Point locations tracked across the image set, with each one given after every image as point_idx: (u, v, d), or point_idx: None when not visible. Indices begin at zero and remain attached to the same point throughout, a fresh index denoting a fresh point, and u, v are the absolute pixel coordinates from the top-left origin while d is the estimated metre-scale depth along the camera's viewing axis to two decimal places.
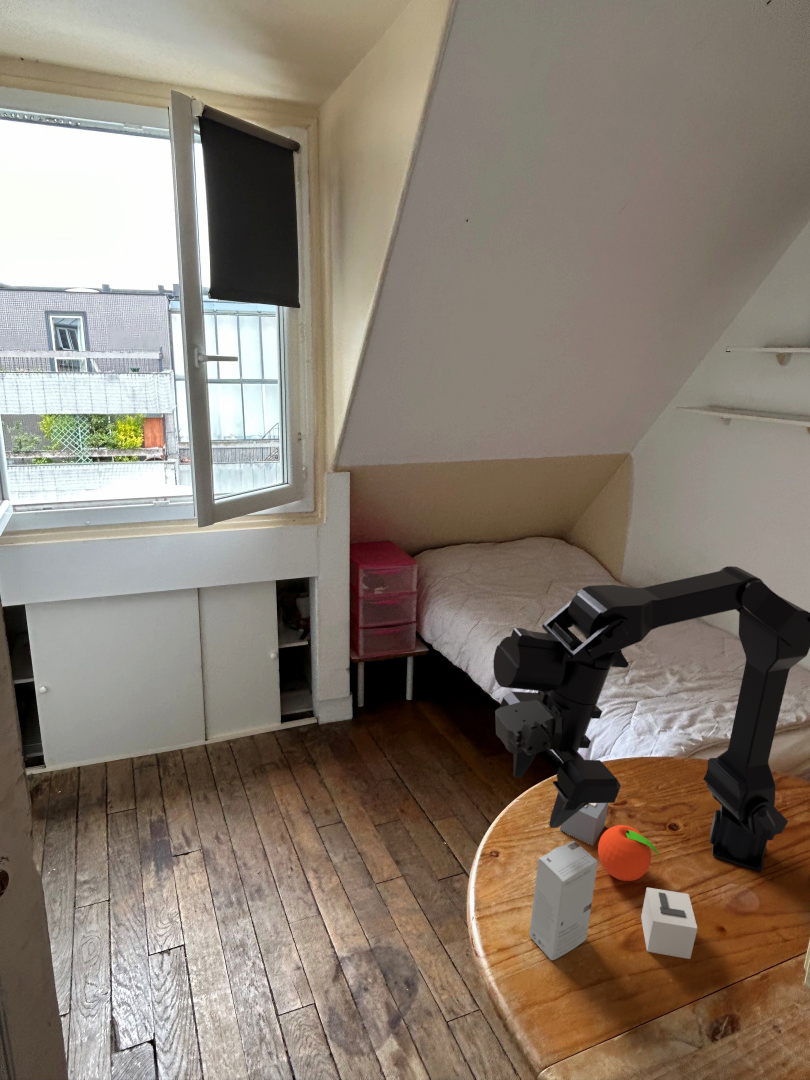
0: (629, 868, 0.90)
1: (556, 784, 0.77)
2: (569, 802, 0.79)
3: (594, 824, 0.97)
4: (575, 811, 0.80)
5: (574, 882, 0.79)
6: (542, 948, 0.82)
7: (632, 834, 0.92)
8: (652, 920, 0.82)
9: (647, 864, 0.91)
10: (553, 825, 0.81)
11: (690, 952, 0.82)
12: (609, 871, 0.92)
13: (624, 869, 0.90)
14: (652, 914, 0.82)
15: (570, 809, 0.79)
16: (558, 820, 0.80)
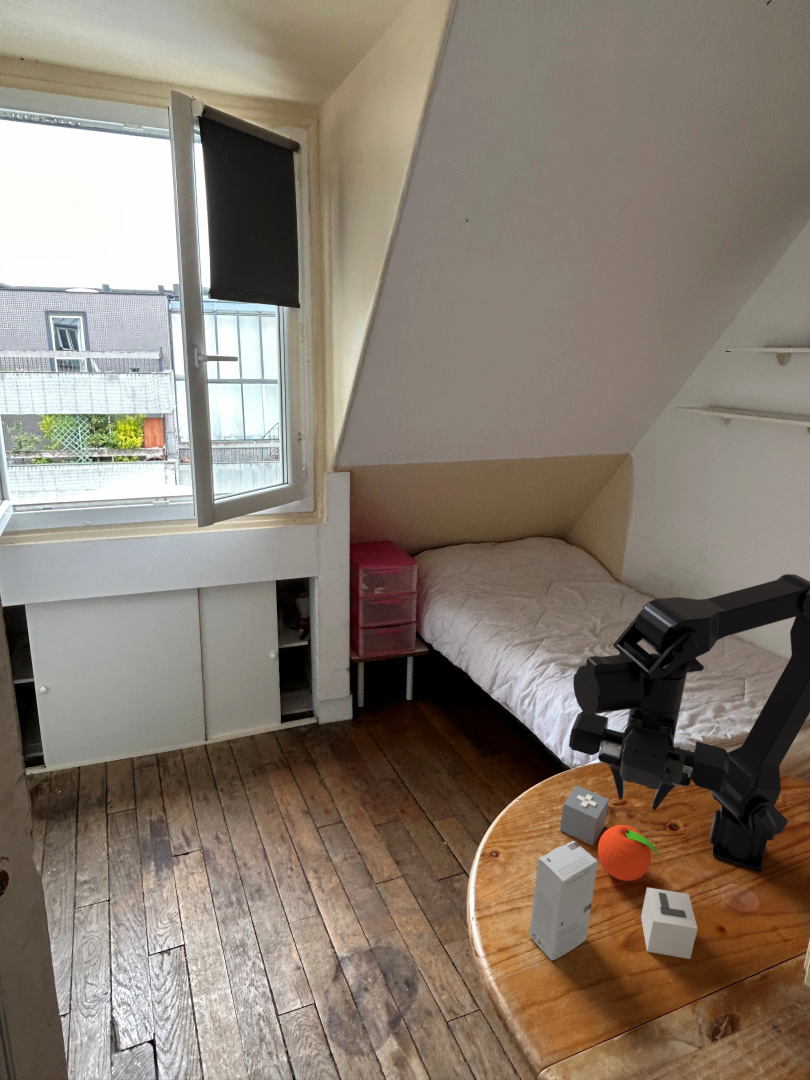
0: (629, 868, 0.90)
1: None
2: None
3: (594, 824, 0.97)
4: None
5: (574, 882, 0.79)
6: (542, 948, 0.82)
7: (632, 834, 0.92)
8: (652, 920, 0.82)
9: (647, 864, 0.91)
10: None
11: (690, 952, 0.82)
12: (609, 871, 0.92)
13: (624, 869, 0.90)
14: (652, 914, 0.82)
15: None
16: None
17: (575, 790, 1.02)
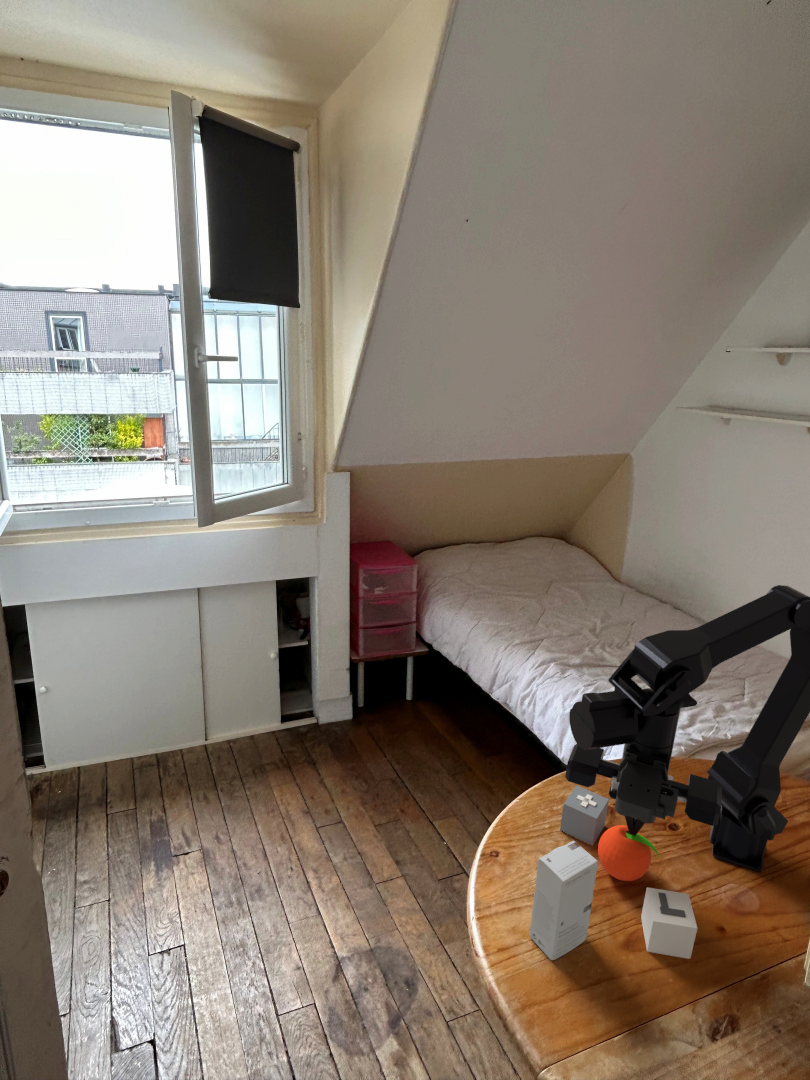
0: (629, 868, 0.90)
1: None
2: None
3: (594, 824, 0.97)
4: None
5: (574, 882, 0.79)
6: (542, 948, 0.82)
7: None
8: (652, 920, 0.82)
9: (647, 864, 0.91)
10: None
11: (690, 952, 0.82)
12: (609, 871, 0.92)
13: (624, 869, 0.90)
14: (652, 914, 0.82)
15: None
16: None
17: (575, 790, 1.02)
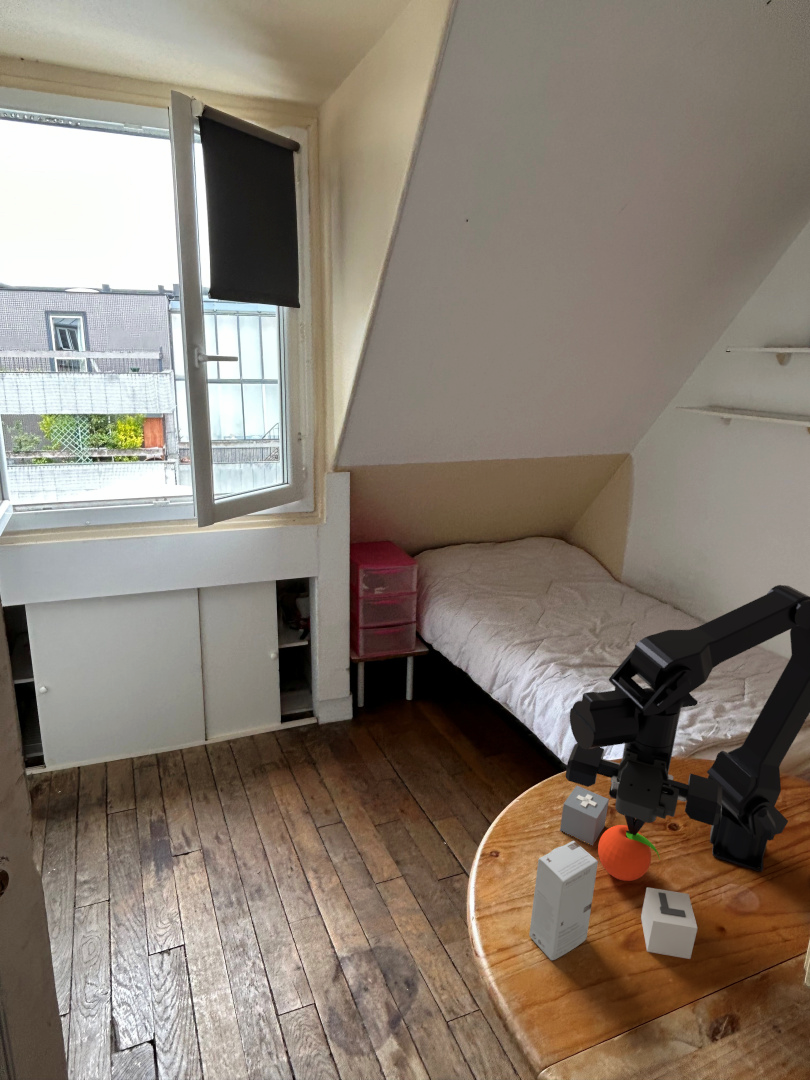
0: (629, 868, 0.90)
1: None
2: None
3: (594, 824, 0.97)
4: None
5: (574, 882, 0.79)
6: (542, 948, 0.82)
7: (632, 834, 0.92)
8: (652, 920, 0.82)
9: (647, 864, 0.91)
10: (637, 832, 0.91)
11: (690, 952, 0.82)
12: (609, 871, 0.92)
13: (624, 869, 0.90)
14: (652, 914, 0.82)
15: None
16: None
17: (575, 790, 1.02)
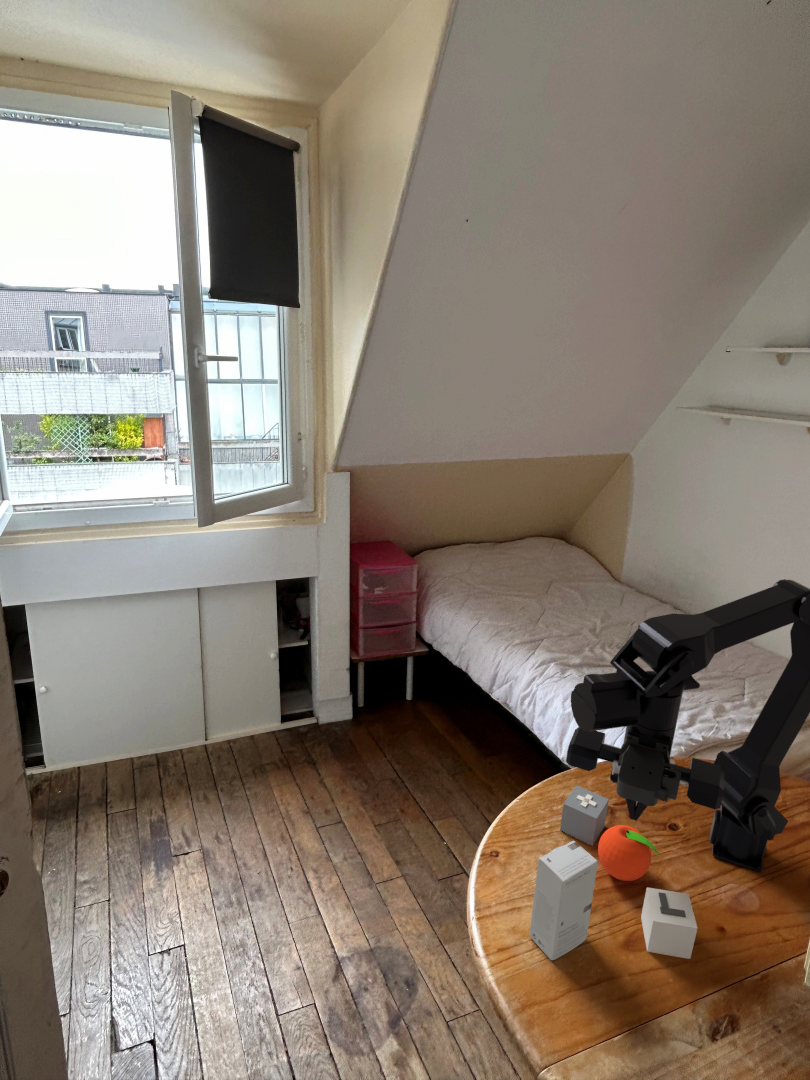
0: (629, 868, 0.90)
1: None
2: None
3: (594, 824, 0.97)
4: None
5: (574, 882, 0.79)
6: (542, 948, 0.82)
7: (632, 834, 0.92)
8: (652, 920, 0.82)
9: (647, 864, 0.91)
10: None
11: (690, 952, 0.82)
12: (609, 871, 0.92)
13: (624, 869, 0.90)
14: (652, 914, 0.82)
15: None
16: None
17: (575, 790, 1.02)
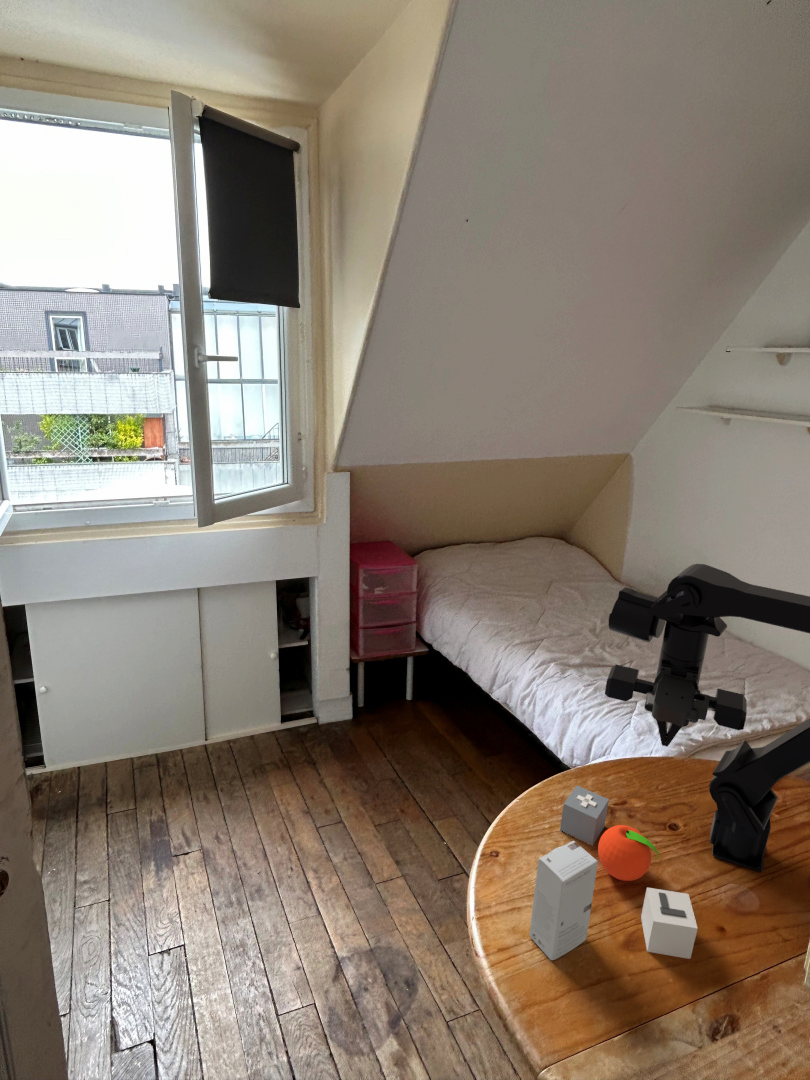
0: (629, 868, 0.90)
1: None
2: None
3: (594, 824, 0.97)
4: None
5: (574, 882, 0.79)
6: (542, 948, 0.82)
7: (632, 834, 0.92)
8: (652, 920, 0.82)
9: (647, 864, 0.91)
10: None
11: (690, 952, 0.82)
12: (609, 871, 0.92)
13: (624, 869, 0.90)
14: (652, 914, 0.82)
15: None
16: None
17: (575, 790, 1.02)
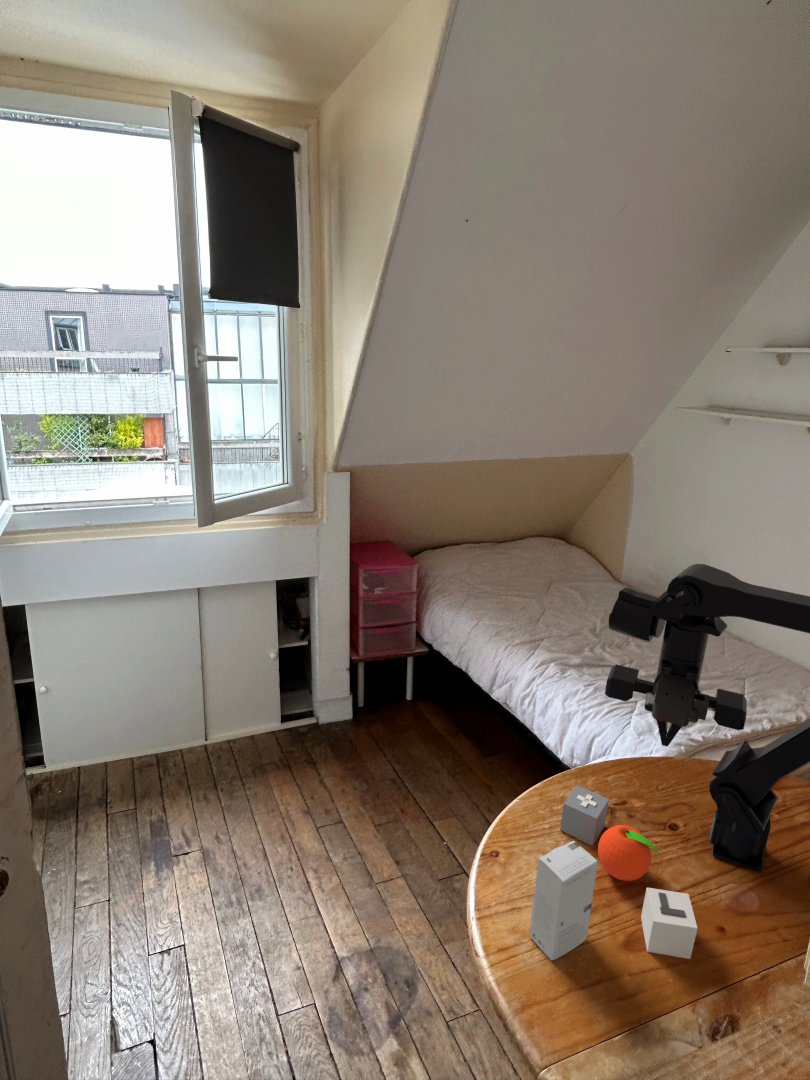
0: (629, 868, 0.90)
1: None
2: None
3: (594, 824, 0.97)
4: None
5: (574, 882, 0.79)
6: (542, 948, 0.82)
7: (632, 834, 0.92)
8: (652, 920, 0.82)
9: (647, 864, 0.91)
10: None
11: (690, 952, 0.82)
12: (609, 871, 0.92)
13: (624, 869, 0.90)
14: (652, 914, 0.82)
15: None
16: None
17: (575, 790, 1.02)
